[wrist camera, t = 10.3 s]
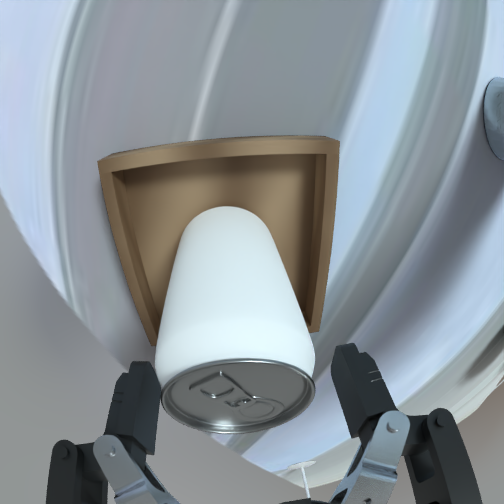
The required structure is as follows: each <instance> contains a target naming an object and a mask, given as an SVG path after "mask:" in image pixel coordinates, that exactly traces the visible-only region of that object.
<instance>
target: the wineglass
mask: <svg viewBox="0 0 504 504" xmlns="http://www.w3.org/2000/svg"><path fill="white" fill-rule="evenodd" d="M314 463H316V462H315V461H307V462H302V463H298V464H294V465H291V466H289V467H288V468H287V469H300V468H301V472H302V476H303V481H304V485H305V490H306V495H307V498H310V494H309V490H308V485H307V481H306V476H305V472H304V467H308V466H311V465H313V464H314Z"/></svg>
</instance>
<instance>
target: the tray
mask: <svg viewBox="0 0 504 504" xmlns="http://www.w3.org/2000/svg"><path fill="white" fill-rule="evenodd" d="M339 147H340V141H338V140H335V139H332V138H329V137H326V136H250V137H232V138H219V139H207V140H197V141H188V142H180V143H172V144H165V145H158V146H152V147H145V148H140V149H134V150H129V151H123V152H118V153H113V154H111V155H109V156H107V157H105V158H103V159H101V160H99V161H97V162H98V168H99V174H100V179H101V184H102V189H103V194H104V199H105V204H106V208H107V212H108V216H109V221H110V225H111V229H112V232H113V236H114V240H115V244H116V247H117V251H118V254H119V257H120V261H121V264H122V267H123V271H124V274H125V277H126V280H127V283H128V286H129V289H130V292H131V295H132V297H133V300H134V303H135V306H136V309H137V311H138V314H139V317H140V319H141V322H142V324H143V327H144V329H145V332H146V334H147V337H148V339H149V342H150V344H151V346H157V340H158V334H159V329H160V324H161V318H162V314H163V309H164V304H165V299H166V295H167V290H168V286H169V282H170V277H171V273H172V269H173V265H174V261H175V257H176V254H177V250H178V246H179V243H180V239H181V236H182V234H183V232H184V230H185V228H186V227H187V225H188V224H189V223H190V222H191V221H192V220H193V219H194V218H195V217H196V216H198V215H199V214H201V213H202V212H204V211H207V210H209V209H212V208H216V207H223V206H231V207H238V208H242V209H245V210H247V211H249V212H251V213H253V214H255V215H256V216H257V217H259V218H260V219H261V220H262V221H263V222H264V224H265V225H266V226H267V228H268V230H269V231H270V234H271V236H272V238H273V240H274V243H275V245H276V248H277V250H278V253H279V255H280V258H281V260H282V263H283V265H284V268H285V270H286V273H287V276H288V278H289V281H290V283H291V286H292V288H293V291H294V294H295V296H296V299H297V302H298V304H299V307H300V310H301V312H302V315H303V318H304V321H305V323H306V326H307V329H308V332H309V333H313V332H319V328H320V323H321V317H322V311H323V305H324V299H325V293H326V286H327V279H328V272H329V264H330V257H331V248H332V240H333V231H334V221H335V210H336V198H337V184H338V168H339Z"/></svg>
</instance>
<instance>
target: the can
mask: <svg viewBox="0 0 504 504" xmlns="http://www.w3.org/2000/svg"><path fill="white" fill-rule="evenodd" d="M314 365H315V353H314V348H313V344H312V341H311V338H310V335H309V332H308V329H307V326H306V323H305V321H304V318H303V315H302V312H301V310H300V307H299V304H298V302H297V299H296V296H295V294H294V291H293V288H292V286H291V283H290V281H289V278H288V276H287V273H286V270H285V268H284V265H283V263H282V260H281V258H280V255H279V253H278V250H277V248H276V245H275V243H274V240H273V238H272V236H271V234H270V231H269V230H268V228H267V226H266V225H265V224H264V222H263V221H262V220H261V219H260V218H259V217H257V216H256V215H255V214H253V213H251V212H249V211H247V210H245V209H242V208H238V207H231V206H223V207H216V208H212V209H209V210H207V211H204V212H202V213H201V214H199V215H198V216H196V217H195V218H194V219H193V220H192V221H191V222H190V223H189V224H188V225H187V227H186V228H185V230H184V232H183V234H182V236H181V239H180V243H179V246H178V250H177V254H176V257H175V261H174V265H173V269H172V273H171V277H170V282H169V286H168V290H167V295H166V299H165V304H164V309H163V314H162V318H161V324H160V329H159V334H158V340H157V346H156V353H155V370H156V374H157V377H158V380H159V382H160V385H161V387H162V392H161V403H162V406H163V408H164V410H165V411H166V412H167V413H168V414H169V415H170V416H171V417H172V418H173V419H175V420H176V421H178V422H180V423H182V424H183V425H186V426H188V427H191V428H194V429H197V430H201V431H205V432H210V433H218V434H244V433H252V432H258V431H263V430H267V429H270V428H273V427H276V426H279V425H281V424H284V423H286V422H288V421H290V420H292V419H293V418H295V417H297V416H298V415H299V414H301V413H302V412H303V411H304V410H305V409H306V408H307V407H308V406H309V405H310V404H311V402H312V400H313V398H314V396H315V384H314V382H313V380H312V374H313V370H314Z"/></svg>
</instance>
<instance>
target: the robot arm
mask: <svg viewBox="0 0 504 504" xmlns="http://www.w3.org/2000/svg"><path fill="white" fill-rule="evenodd" d="M484 121H485V129H486V133H487V138H488V141H489V144H490V146H491V149H492V151H493V152H494V154H495V155H496V156H497V157H498V158H499V159H501V160H503V161H504V78H502V77H497V78H494V79H493V80H491V82H490V83H489V85H488V88H487V90H486V95H485V101H484ZM331 376H332V380H333V382H334V385H335V388H336V391H337V395H338V398H339V401H340V404H341V407H342V410H343V413H344V416H345V419H346V422H347V425H348V429H349V432H350V435H351V438H355V437H359V438H360V441H361V443H360V445H359V447H358V450H357V452H356V454H355V456H354V458H353V460H352V462H351V465H350V467H349V469H348V471H347V473H346V475H345V476H344V478H343V480H342V481H341V482H340V484H339V485H338V487H337V488H336V490H335V492H334V494H333V495H332V497H331V499H330V500H329V502H328V503H327V502H322V501H315V500H311V498H307V499H302V500H296V501H289V502H283V503H281V504H365V503H366V504H387V502H388V500H389V497H390V495H391V493H392V490H393V488H394V485H395V483H396V480H397V473H396V468H397V465H398V463H399V460H400V457H401V456H404V458H405V462H406V465H407V469H408V472H409V476H410V480H411V484H412V488H413V492H414V496H415V500H416V504H482V500H481V496H480V492H479V488H478V485H477V481H476V478H475V475H474V472H473V468H472V466H471V462H470V459H469V456H468V454H467V451H466V448H465V446H464V443H463V440H462V438H461V435H460V432H459V430H458V427H457V425H456V422H455V420H454V418H453V415H452V414H451V413H450V412H449V411H448V410H447V409H444V408H437V409H435V410H433V411H432V412H431V413H430V414H429V415H419V416H408V415H405V414H404V413H402V412H400V411H399V410H398V409H397V408H396V406H395V405H394V402H393V400H392V398H391V395H390V393H389V391H388V389H387V387H386V384H385V382H384V380H383V379H382V376H381V374H380V371H379V369H378V367H377V365H376V363H375V361H374V359H373V358H371V357H370V356H369V355H368V354H367V353H366V352H364V353H359V351H358V349H357V347H356V345H355V344H354V343H349V344H344V345H339V346H337V347H336V349H335V353H334V357H333V361H332V364H331ZM160 397H161V385H160V382H159V380H158V377H157V375H156V373H155V371H154V369H153V367H152V365H151V363H150V362H144V361H133V362H132V363H131V365H130V369H129V373H122V375H121V376H120V377H119V379H118V380H117V382H116V385H115V389H114V394H113V398H112V402H111V406H110V410H109V414H108V419H107V424H106V429H105V432H104V434H103V436H101V437H99V438H98V439H97V440H96V441H95V442H93V443H87V444H79V445H74V444H73V443H72V442H70V441H68V440H60V441H58V442H57V443H56V444H55V446H54V447H53V450H52V456H51V462H50V469H49V477H48V485H47V496H46V504H107V493H108V482H109V483H110V485H111V487H112V488H113V490H114V492H115V497H114V499H115V502H116V504H180V503H179V502H178V501H177V500H176V499H175V498H174V497H173V496H172V495H171V494H170V493H169V492H168V491H167V490H166V489H165V487H164V486H163V485H162V483H161V482H160V481H159V479H158V478H157V477H156V475H155V474H154V473H153V471H152V470H151V468H150V467H149V465H148V464H147V463H146V454H149V455H154V452H155V440H156V430H157V421H158V413H159V405H160Z"/></svg>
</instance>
